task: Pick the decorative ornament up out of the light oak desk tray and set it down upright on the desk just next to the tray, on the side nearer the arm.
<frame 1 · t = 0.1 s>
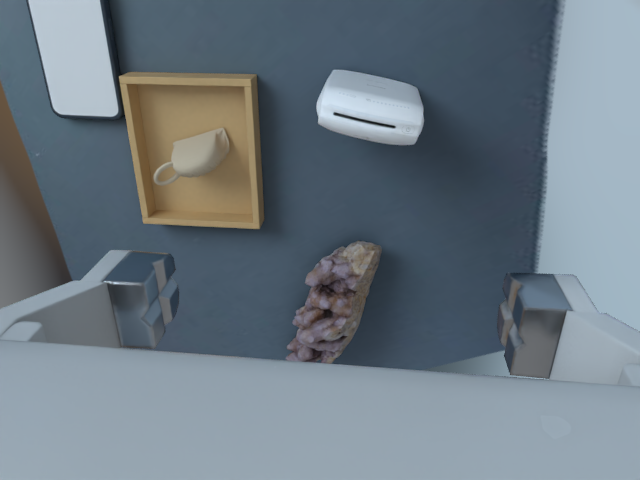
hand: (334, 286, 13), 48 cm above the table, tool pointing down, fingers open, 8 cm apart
smartphone: (81, 44, 59), on the table
photo printer: (372, 93, 58), on the table
mineral specimen: (333, 291, 70), on the table
decorative ornament: (200, 149, 63), resting on tray
tray: (200, 149, 63), on the table
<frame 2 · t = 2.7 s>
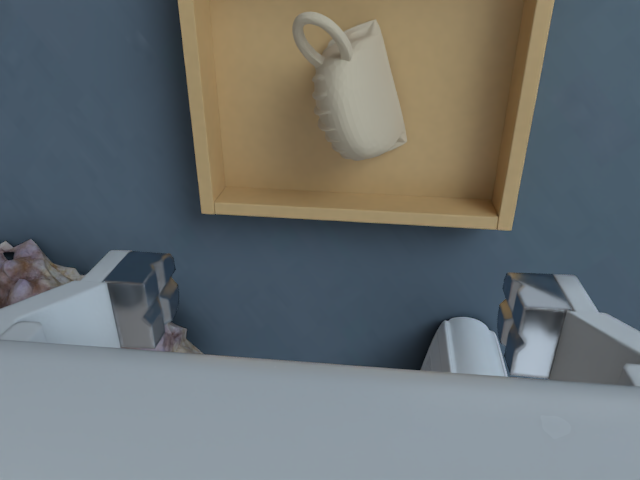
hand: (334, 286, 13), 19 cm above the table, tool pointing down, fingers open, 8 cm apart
photo printer: (447, 370, 38), on the table
mineral specimen: (92, 297, 39), on the table
decorative ornament: (358, 81, 29), resting on tray
tray: (358, 80, 29), on the table
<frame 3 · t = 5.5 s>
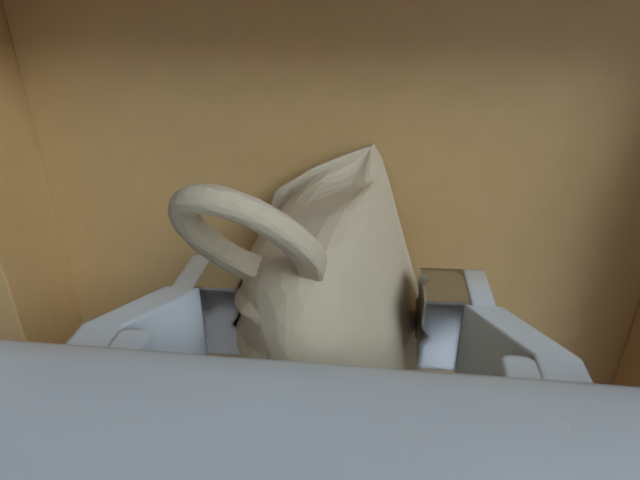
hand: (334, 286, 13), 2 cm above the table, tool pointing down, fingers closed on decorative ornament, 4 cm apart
decorative ornament: (339, 253, 15), resting on tray, touching gripper
tray: (340, 249, 15), on the table
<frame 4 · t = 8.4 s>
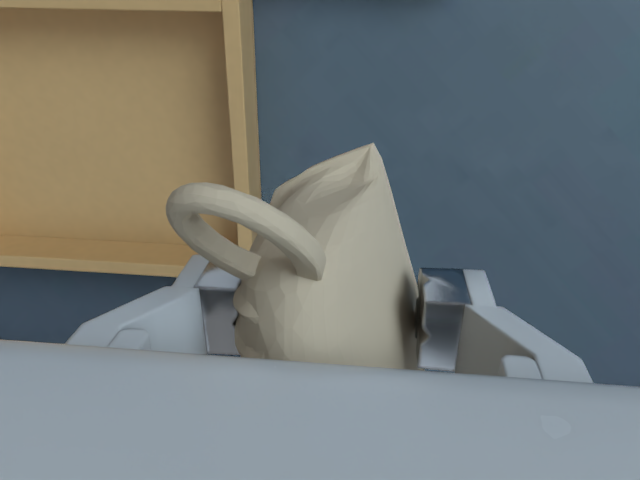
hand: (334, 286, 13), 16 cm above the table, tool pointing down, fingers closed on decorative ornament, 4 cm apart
decorative ornament: (338, 252, 15), point 15 cm above the table, touching gripper
tray: (101, 133, 29), on the table
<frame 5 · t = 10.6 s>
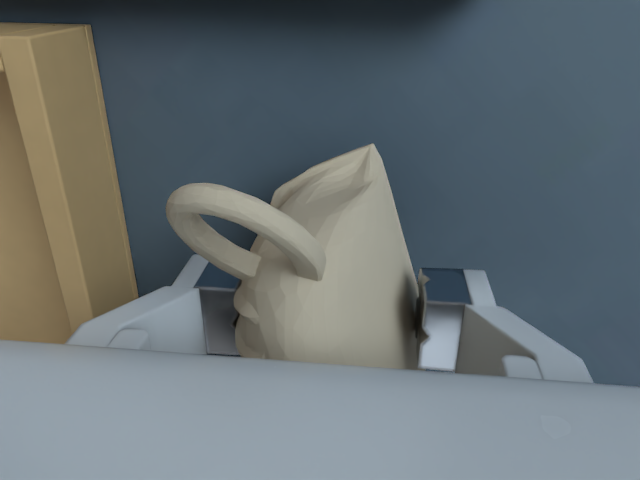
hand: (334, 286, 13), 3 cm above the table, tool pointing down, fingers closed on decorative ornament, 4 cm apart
decorative ornament: (339, 253, 15), point 2 cm above the table, touching gripper
when the fingers open (1 cm above the table, at t = 11.6 s): decorative ornament stays where it is, on the table.
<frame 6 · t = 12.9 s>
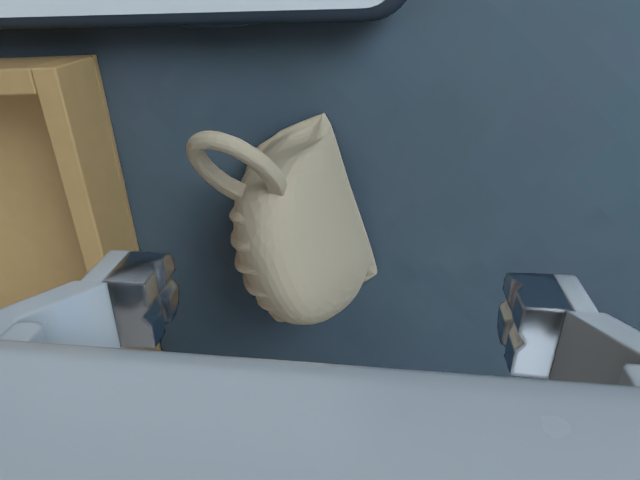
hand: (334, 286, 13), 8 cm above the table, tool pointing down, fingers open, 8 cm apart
decorative ornament: (305, 194, 20), on the table
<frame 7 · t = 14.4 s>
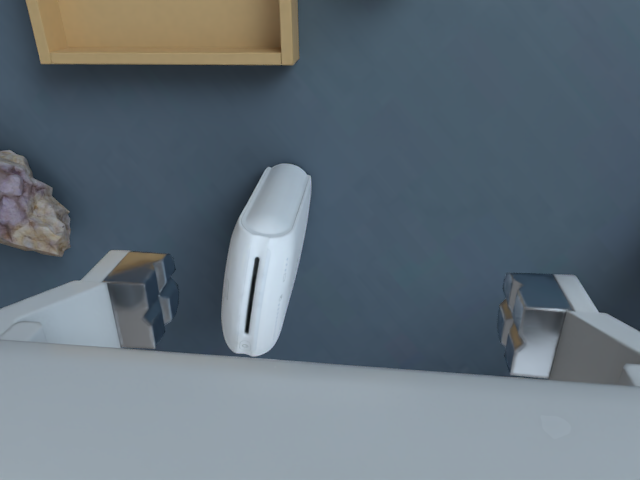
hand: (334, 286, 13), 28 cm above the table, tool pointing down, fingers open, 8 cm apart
photo printer: (282, 220, 44), on the table
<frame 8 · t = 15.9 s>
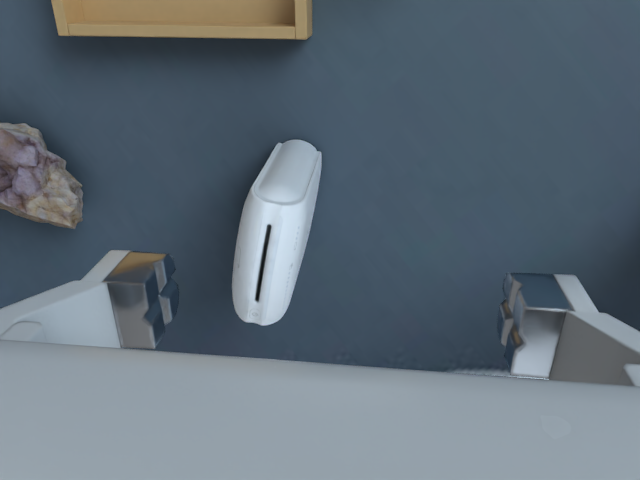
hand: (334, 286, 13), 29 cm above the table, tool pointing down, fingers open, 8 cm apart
photo printer: (291, 197, 44), on the table
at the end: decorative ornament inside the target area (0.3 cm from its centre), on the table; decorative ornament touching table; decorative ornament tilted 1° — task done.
